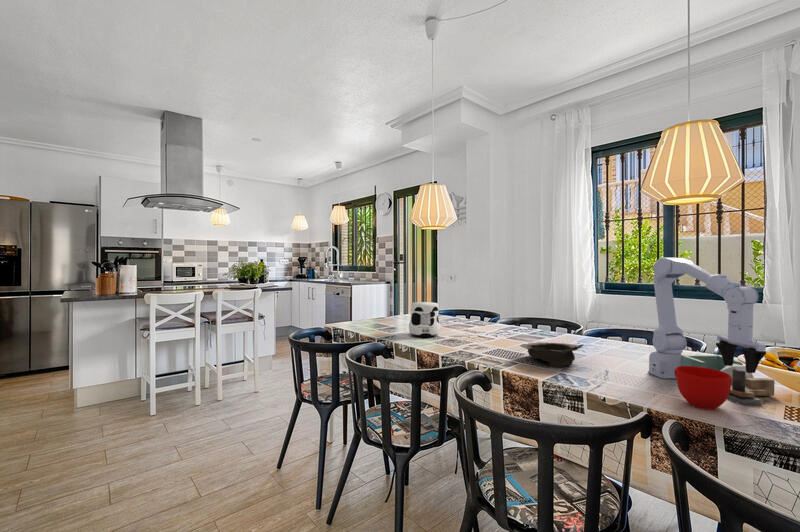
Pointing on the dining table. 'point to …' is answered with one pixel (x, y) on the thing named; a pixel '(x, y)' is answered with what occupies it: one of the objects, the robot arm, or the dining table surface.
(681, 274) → the robot arm
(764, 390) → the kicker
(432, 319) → the milk container
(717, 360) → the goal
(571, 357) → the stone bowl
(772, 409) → the dining table surface
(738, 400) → the rail
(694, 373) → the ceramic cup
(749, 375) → the die
